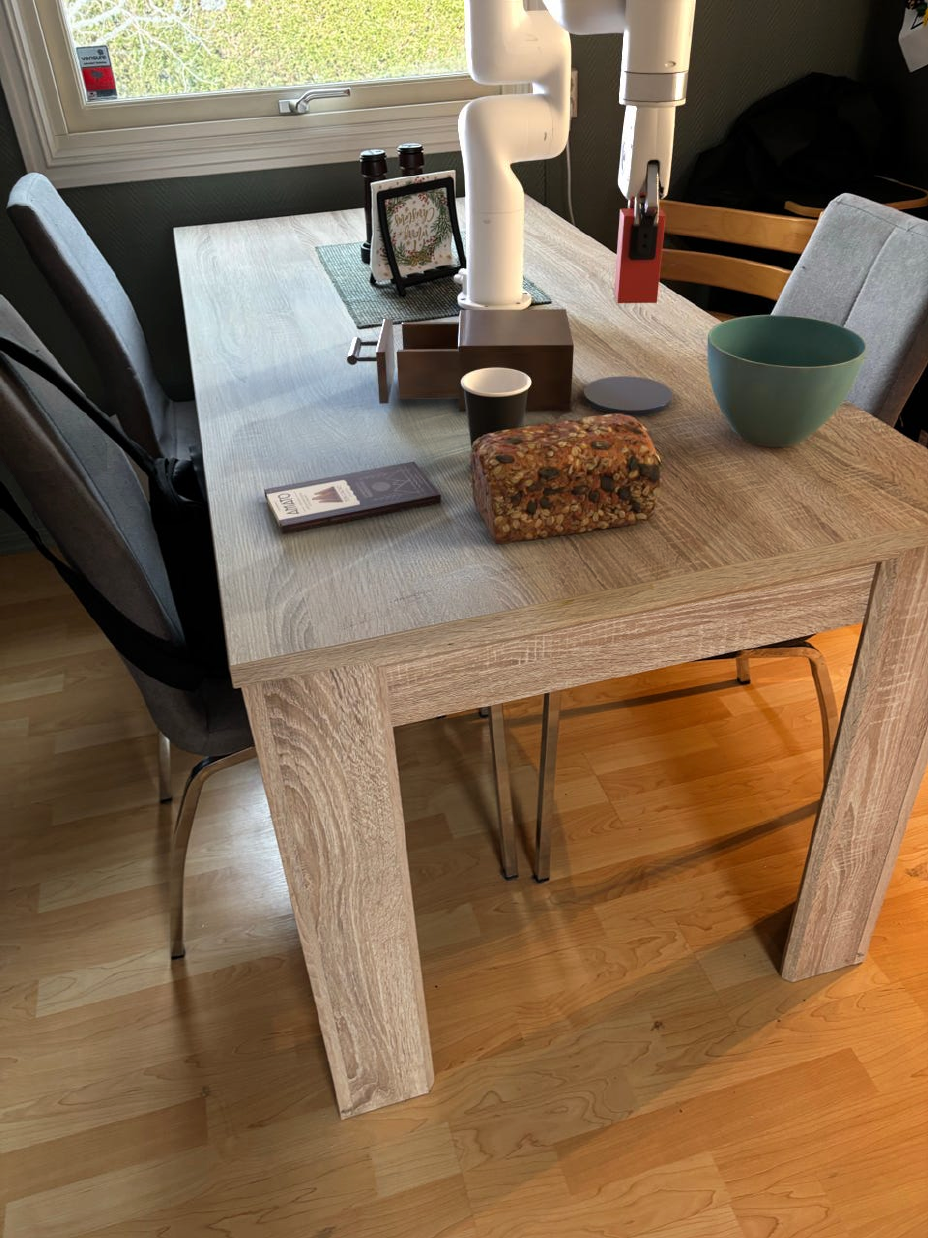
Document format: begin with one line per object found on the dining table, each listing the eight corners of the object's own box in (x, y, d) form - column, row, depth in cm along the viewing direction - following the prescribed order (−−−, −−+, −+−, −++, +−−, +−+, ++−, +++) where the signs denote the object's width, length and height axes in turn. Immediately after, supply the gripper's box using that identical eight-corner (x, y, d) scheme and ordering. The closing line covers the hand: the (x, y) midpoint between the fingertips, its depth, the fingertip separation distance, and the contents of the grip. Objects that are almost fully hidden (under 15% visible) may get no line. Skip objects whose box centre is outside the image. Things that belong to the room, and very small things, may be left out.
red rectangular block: (617, 303, 124) (624, 215, 118) (613, 293, 127) (620, 208, 121) (657, 302, 124) (665, 215, 118) (652, 293, 127) (660, 207, 121)
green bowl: (762, 478, 113) (781, 377, 106) (666, 422, 126) (677, 328, 119) (876, 446, 120) (901, 348, 113) (774, 395, 133) (790, 305, 126)
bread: (624, 482, 113) (631, 401, 107) (659, 527, 104) (670, 441, 99) (467, 501, 110) (466, 418, 104) (491, 549, 101) (491, 461, 95)
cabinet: (459, 411, 130) (458, 345, 125) (461, 371, 142) (460, 309, 137) (570, 410, 130) (574, 344, 125) (562, 370, 142) (565, 308, 136)
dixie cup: (536, 479, 114) (539, 389, 107) (470, 487, 112) (469, 397, 106) (518, 450, 120) (520, 364, 114) (455, 457, 119) (454, 370, 112)
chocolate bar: (440, 494, 109) (281, 525, 104) (441, 501, 109) (283, 533, 104) (414, 461, 116) (263, 489, 110) (414, 468, 116) (265, 496, 111)
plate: (565, 398, 133) (565, 392, 133) (620, 374, 140) (620, 369, 140) (635, 423, 126) (636, 418, 126) (690, 397, 133) (690, 392, 133)
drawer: (347, 404, 130) (342, 352, 126) (357, 367, 141) (353, 318, 137) (481, 403, 130) (481, 351, 126) (480, 366, 141) (480, 317, 137)
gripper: (612, 80, 119) (602, 237, 129) (629, 99, 105) (616, 273, 115) (674, 79, 118) (659, 236, 129) (699, 98, 105) (680, 272, 115)
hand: (639, 252), depth 122 cm, fingers closed on red rectangular block, 4 cm apart
